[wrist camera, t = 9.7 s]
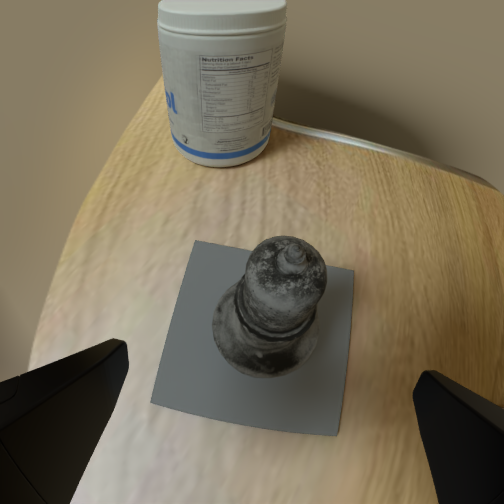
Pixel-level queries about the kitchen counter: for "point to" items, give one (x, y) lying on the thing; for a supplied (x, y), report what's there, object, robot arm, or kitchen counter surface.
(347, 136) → the kitchen counter surface
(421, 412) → the robot arm
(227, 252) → the slate mat
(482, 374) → the kitchen counter surface
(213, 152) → the supplement tub
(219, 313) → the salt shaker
